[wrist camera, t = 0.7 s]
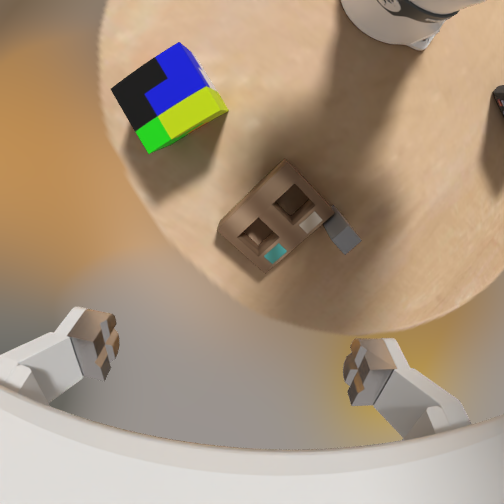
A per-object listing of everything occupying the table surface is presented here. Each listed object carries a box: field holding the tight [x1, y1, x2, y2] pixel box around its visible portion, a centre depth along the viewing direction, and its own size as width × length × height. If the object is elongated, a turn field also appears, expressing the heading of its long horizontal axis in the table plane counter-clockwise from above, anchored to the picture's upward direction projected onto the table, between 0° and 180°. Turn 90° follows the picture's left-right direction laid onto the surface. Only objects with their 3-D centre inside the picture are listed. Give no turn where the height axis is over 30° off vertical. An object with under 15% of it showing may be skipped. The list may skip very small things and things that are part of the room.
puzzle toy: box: [111, 42, 229, 154], centre depth 36 cm, size 10×10×10 cm
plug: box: [323, 205, 362, 255], centre depth 43 cm, size 3×3×9 cm
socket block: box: [217, 159, 335, 273], centre depth 46 cm, size 14×10×4 cm
